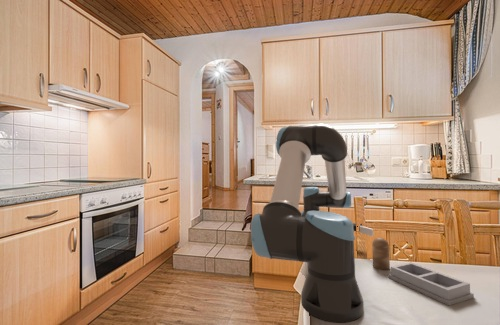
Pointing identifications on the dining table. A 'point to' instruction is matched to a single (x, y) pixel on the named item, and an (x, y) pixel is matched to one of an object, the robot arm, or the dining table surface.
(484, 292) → the dining table surface
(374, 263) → the wooden dome-top peg
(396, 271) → the two-compartment grey tray
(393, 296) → the dining table surface
